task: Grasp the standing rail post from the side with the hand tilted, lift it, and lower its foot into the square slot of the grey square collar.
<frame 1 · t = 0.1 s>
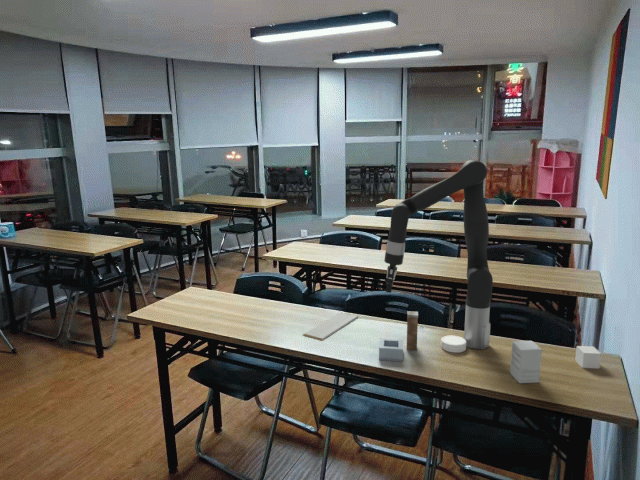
hand: (389, 289, 192), 22 cm above the table, tool pointing down, fingers open, 8 cm apart
white round disc: (453, 348, 188), on the table
rail post: (411, 347, 188), on the table
white cube: (587, 365, 172), on the table
baseboard: (330, 327, 212), on the table
grey square collar: (391, 355, 181), on the table
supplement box: (524, 378, 163), on the table
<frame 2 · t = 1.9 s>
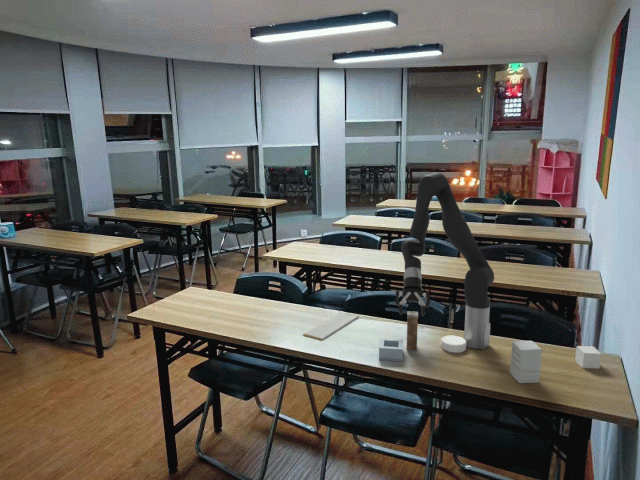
hand: (412, 314, 190), 12 cm above the table, tool tilted 45°, fingers open, 8 cm apart
nothing on the table moved.
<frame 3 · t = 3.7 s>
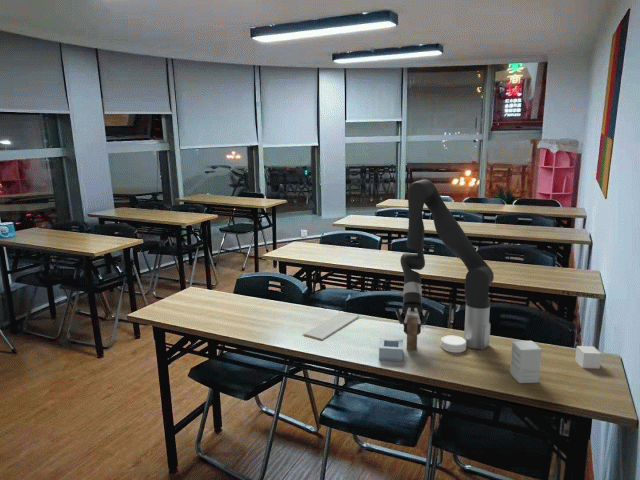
hand: (412, 333, 184), 7 cm above the table, tool tilted 45°, fingers closed on rail post, 4 cm apart
rail post: (411, 347, 188), on the table, touching gripper
everything else where it was.
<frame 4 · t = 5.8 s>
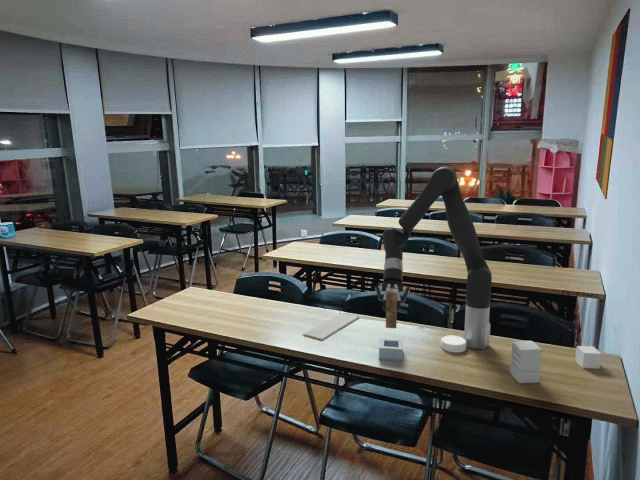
hand: (391, 310, 176), 19 cm above the table, tool tilted 45°, fingers closed on rail post, 4 cm apart
rail post: (391, 326, 179), point 12 cm above the table, touching gripper
everything else where it was.
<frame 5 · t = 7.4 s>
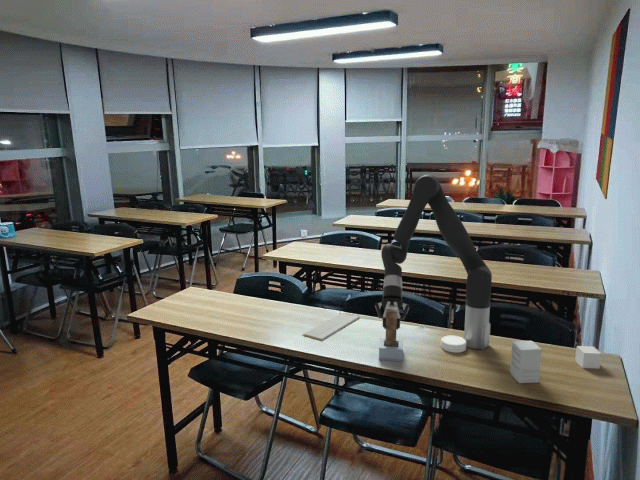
hand: (391, 328, 177), 12 cm above the table, tool tilted 45°, fingers closed on rail post, 4 cm apart
rail post: (390, 343, 180), point 5 cm above the table, touching gripper
everything else where it was.
when the fingers open (10 cm above the table, at t = 8.3 s): rail post drops 2 cm, resting on grey square collar.
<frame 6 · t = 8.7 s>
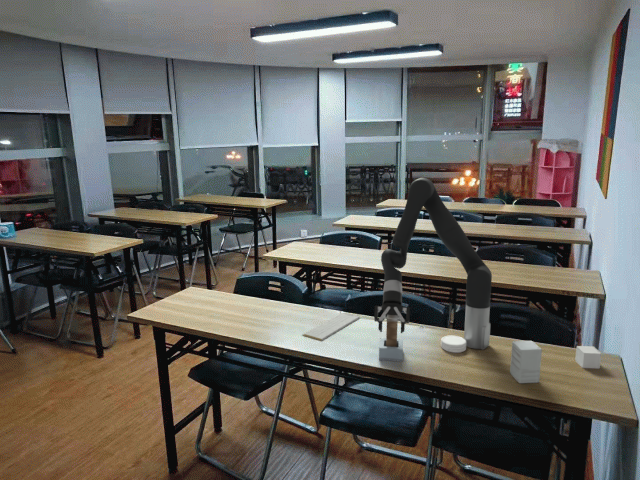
hand: (391, 331, 178), 11 cm above the table, tool tilted 45°, fingers open, 7 cm apart
rail post: (391, 352, 181), point 1 cm above the table, touching grey square collar
everything else where it was.
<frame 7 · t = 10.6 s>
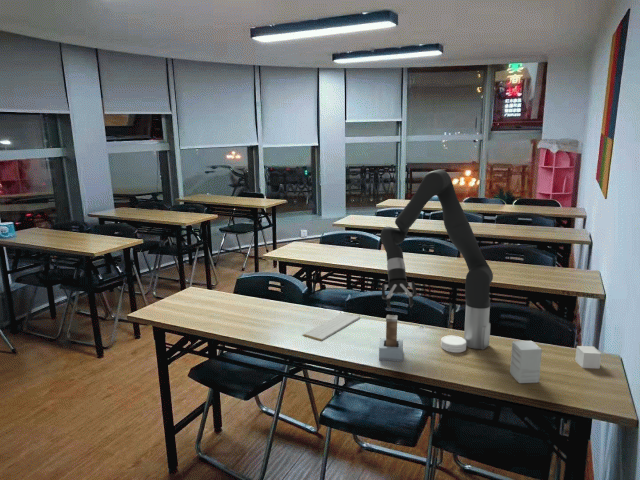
hand: (400, 307, 189), 16 cm above the table, tool tilted 35°, fingers open, 8 cm apart
nothing on the table moved.
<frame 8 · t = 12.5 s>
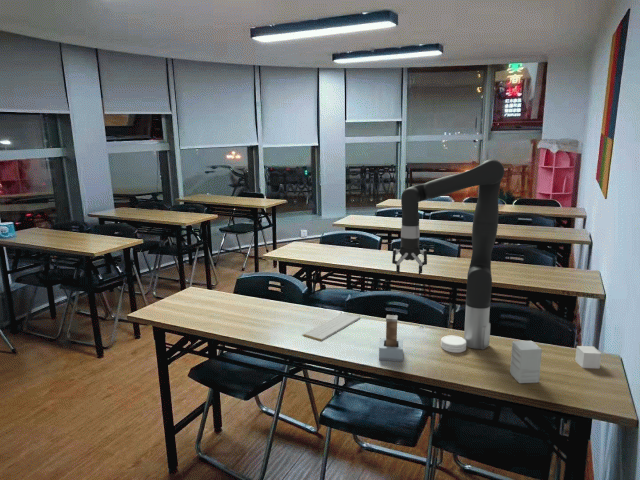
hand: (409, 273, 193), 28 cm above the table, tool pointing down, fingers open, 8 cm apart
nothing on the table moved.
at the end: rail post 0.1 cm off-centre on the grey square collar, point 1.0 cm above the grey square collar's base; rail post tilted 0°; the gripper is holding nothing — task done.
